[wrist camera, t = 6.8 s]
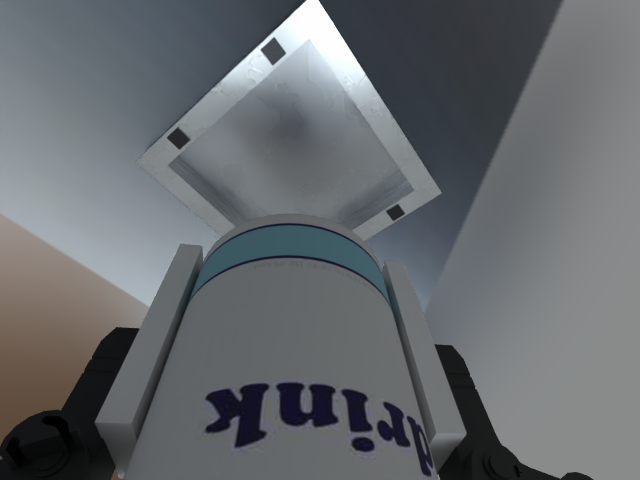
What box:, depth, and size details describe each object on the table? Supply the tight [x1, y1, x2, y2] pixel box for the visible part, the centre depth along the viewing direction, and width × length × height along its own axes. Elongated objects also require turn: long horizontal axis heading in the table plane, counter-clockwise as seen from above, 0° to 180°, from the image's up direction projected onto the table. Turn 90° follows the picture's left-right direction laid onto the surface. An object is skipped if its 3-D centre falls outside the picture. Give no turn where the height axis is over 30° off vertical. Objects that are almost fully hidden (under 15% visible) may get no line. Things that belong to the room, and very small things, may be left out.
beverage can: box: [123, 214, 438, 480], centre depth 10 cm, size 7×7×12 cm
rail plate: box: [136, 0, 441, 241], centre depth 22 cm, size 13×13×2 cm
